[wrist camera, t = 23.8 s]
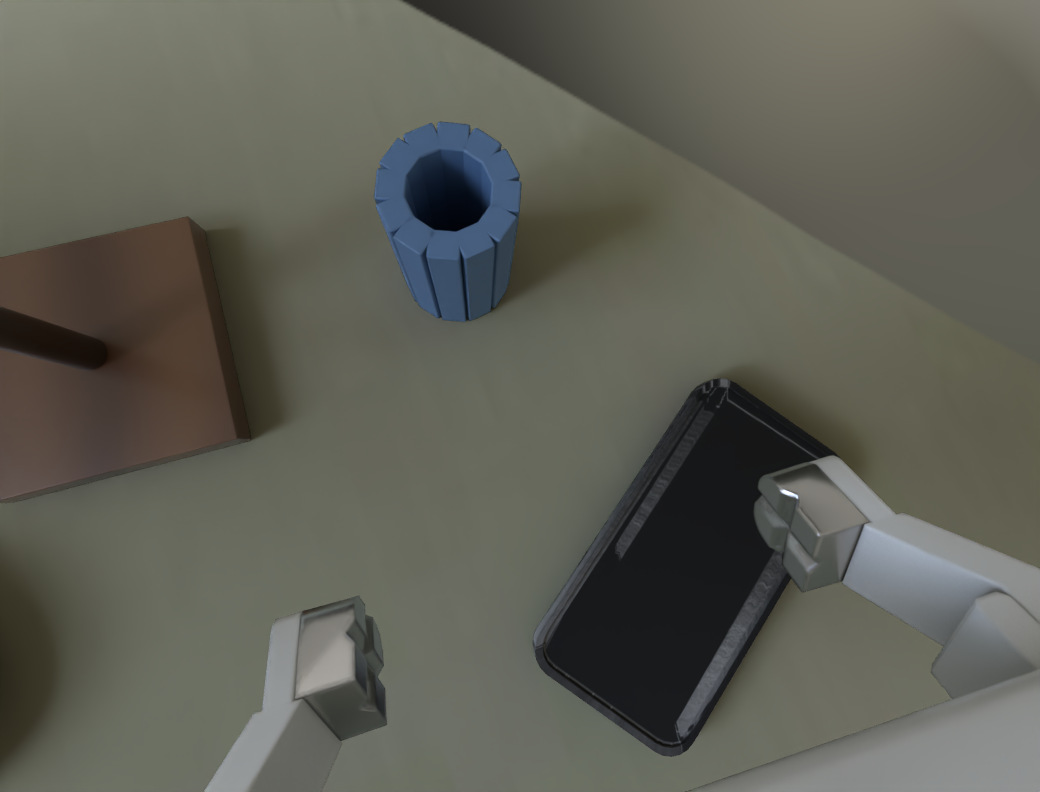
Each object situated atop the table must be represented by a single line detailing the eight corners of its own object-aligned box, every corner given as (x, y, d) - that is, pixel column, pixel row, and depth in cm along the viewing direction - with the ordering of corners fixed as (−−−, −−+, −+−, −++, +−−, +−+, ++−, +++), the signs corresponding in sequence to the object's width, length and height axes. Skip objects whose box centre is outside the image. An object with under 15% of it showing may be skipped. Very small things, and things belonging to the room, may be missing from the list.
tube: (385, 283, 26) (345, 205, 19) (444, 203, 27) (429, 95, 19) (471, 341, 26) (467, 287, 18) (528, 259, 27) (548, 173, 19)
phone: (856, 467, 26) (678, 768, 23) (841, 467, 27) (669, 755, 25) (712, 366, 26) (521, 656, 24) (702, 371, 27) (520, 648, 25)
